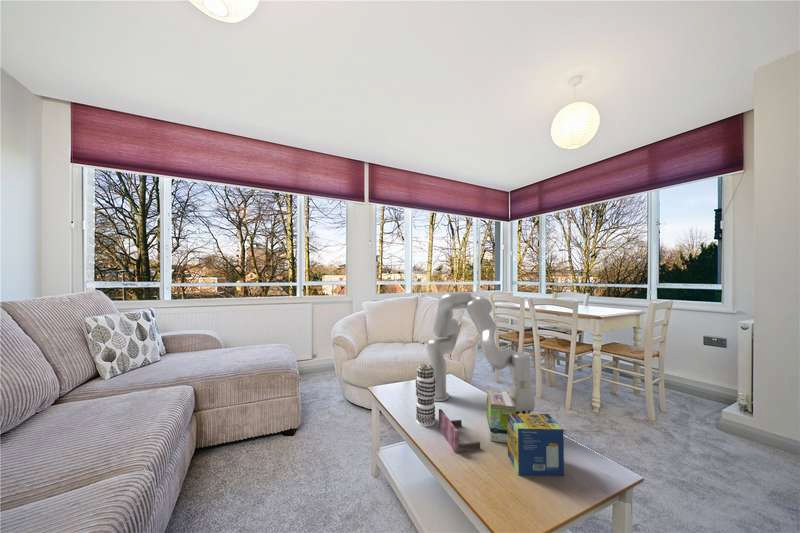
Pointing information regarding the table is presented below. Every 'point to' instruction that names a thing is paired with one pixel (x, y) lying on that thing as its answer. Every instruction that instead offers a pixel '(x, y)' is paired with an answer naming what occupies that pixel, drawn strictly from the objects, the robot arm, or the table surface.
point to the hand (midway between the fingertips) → (522, 426)
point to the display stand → (454, 434)
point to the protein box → (535, 444)
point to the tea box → (499, 414)
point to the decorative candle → (425, 395)
